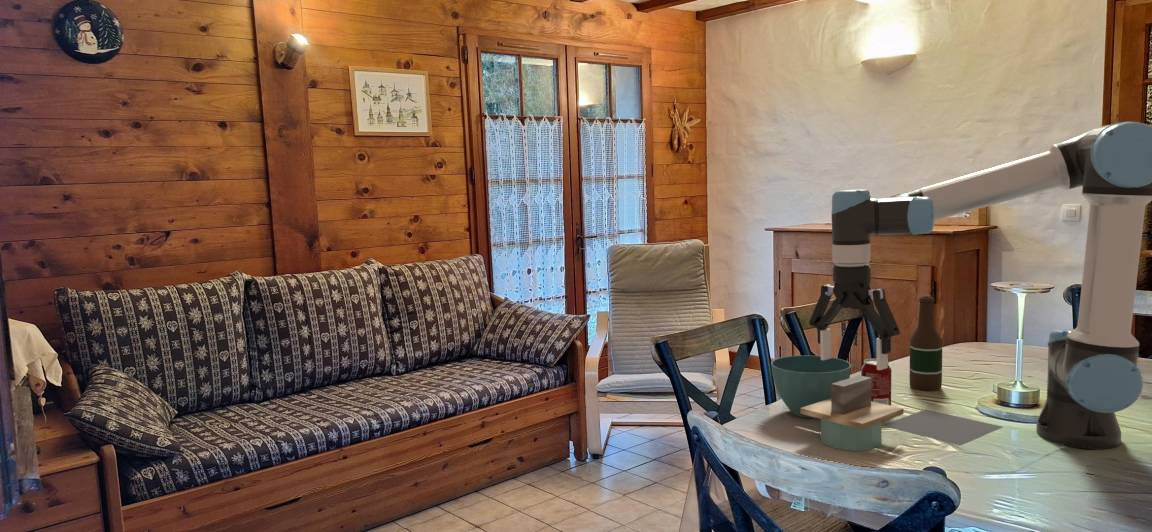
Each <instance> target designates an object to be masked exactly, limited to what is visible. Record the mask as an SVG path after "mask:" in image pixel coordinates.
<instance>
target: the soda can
mask: <svg viewBox="0 0 1152 532" xmlns="http://www.w3.org/2000/svg"><path fill="white" fill-rule="evenodd" d="M860 376H865V377H870V378H871V401H872V402H877V403H881V404H885V405H890V406H892V368H891V367H890V365H889V361H888V368H886V369H883V370H877V358H868V359H864V360H863V364H862V366H861V368H860Z"/></svg>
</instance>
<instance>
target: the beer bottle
mask: <svg viewBox="0 0 1152 532" xmlns="http://www.w3.org/2000/svg"><path fill="white" fill-rule="evenodd" d="M918 302H919V309H918V310H919V311H918V322H917V327H916V328H915V330H913V332H912V334H911V337H910V341H909V387H911V388H912V389H913V390H917V391H924V392H933V391H934V392H935V391H938V390H940V389H941V388H942V384H943V383H942V382H943V340H942V337H941V335H940V332H939V331H938V330H937V328H936V325H935V311H934V310H935V309H934V308H935V307H934V302H935V298H934V297H932V296H920V297H919V299H918Z"/></svg>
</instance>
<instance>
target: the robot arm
mask: <svg viewBox="0 0 1152 532" xmlns="http://www.w3.org/2000/svg"><path fill="white" fill-rule="evenodd" d="M1079 187H1082V189H1081V190H1082V191H1081V196H1083V198H1085V199H1086V201H1088V203H1089V213H1088V223H1087V231H1086V232H1087V233H1086V242H1085V252H1084V259H1083V260H1084V261H1083V271H1082V278H1081V279H1082V280H1081V289H1080V297H1079V298H1080V299H1079V307H1078V308H1079V309H1078V317H1077V325H1076V328H1060V329H1058V328H1057V329H1053V330H1052V331H1050V332H1049V334H1048V335H1049V336H1048V342H1047V348H1048V349H1047V350H1048V351H1047V382H1046V384H1047V385H1046V387H1047V388H1046V399H1045V402H1044V404H1043V406H1042V409H1041V411H1040V413H1039V416H1038V418H1037V421H1036V434H1037V435H1038V436H1039V437H1040V438H1042V439H1045V440H1047V441H1049V442H1052V443H1056V444H1060V445H1063V446H1066V447H1071V448H1079V449H1087V450H1088V449H1089V450H1102V449H1103V450H1105V449H1112V448H1117V447H1118V446H1120V445H1121V443H1122V431H1121V427H1120V425H1119V422H1118V419H1117V416H1116V413H1117V412H1121V411H1123V410H1126V409H1127V408H1130V407H1131V406H1132V405H1133V404H1134V403H1135V402H1136V401H1137V400H1138V399H1139V398H1140V396H1141V394H1142V392H1143V387H1144V381H1143V376H1142V374H1141V370H1140V369H1139V368H1138V360H1139V359H1138V358H1139V352H1140V350H1139V349H1140V342H1139V340H1138V339H1136V337H1135V336H1134V335H1133V334H1132V326H1133V325H1132V324H1133V317H1134V316H1133V315H1134V309H1135V308H1134V306H1135V300H1136V299H1135V298H1136V292H1137V291H1136V289H1137V282H1138V272H1139V264H1140V254H1141V247H1142V239H1143V229H1144V220H1145V211H1146V206H1147V205H1148V204H1150V203H1151V202H1152V126H1151V125H1149V124H1146V123H1143V122H1138V121H1129V120H1128V121H1120V122H1119V121H1117V122H1115V123H1113V124H1105V125H1101V126H1098V127H1096V128H1094V129H1091V130H1089V131H1087V132H1085V133H1082V134H1080V135H1077V136H1075V137H1072V138H1070V139H1068V140H1065V141H1062V142H1059V143H1056V144H1055V143H1054V144H1052V145H1051V146H1050V148H1049V149H1048V150H1047V151H1045V152H1042V153H1039V154H1034V155H1032V156H1031V155H1030V156H1028V157H1025V158H1021V159H1018V160H1017V159H1016V160H1014V161H1011V162H1008V163H1004V164H1000V165H997V166H993V167H991V168H987V169H983V170H979V171H976V172H973V173H969V174H966V175H963V176H959V177H956V178H953V179H949V180H946V181H942V182H938V183H935V184H932V185H928V186H924V187H922V188H918V189H915V190H911V191H909V192H905V193H898V194H893V195H891V196H889V197H887V198H874V197H873V198H871V192H870V191H869V190H868V189H845V190H843V189H841V190H837V191H835V192H834V193H833V194H832V196H831V234H832V235H831V238H832V239H831V240H832V244H831V245H832V246H831V247H832V263H834V265H833V267H832V281H833V283H834V285H832V284H831V283H829V284H824V285H821V287H820V295H819V298H818V301H817V303H816V304H815V307H814V309H813V311H812V315H811V316H810V319H809V322H808V324H809V326H811V327H814V328H816V331H817V343H818V345H819V344H820V356H821V360H827V359H830V358H831V357H832V333H831V332H832V329H831V328H829V325H830V324H831V323H832V322H833V321H834V319H835V318H836V317H837V316H838V314H839V313H840V312H841V310H842V309H852V310H859V311H860V312H861V313H863V315H864V316H865V318H866V319H867V321H868V322H869V323H870V324H871V326H872V328H873V329H874V330H875V332H876V333H877V335H878V336H879V337H877V338H875V340H876V341H875V343H876V346H875V348H876V359H877V370H883V369H886V368H888V365H889V364H888V362H889V361H888V358H889V357H888V354H891V352H892V345H891V342H892V337H896V336H898V335H900V334H901V330H900V329H899V326H898V324H897V321H896V319H895V318H894V314H893V312H892V310H891V308H890V306H889V304H888V301H887V299H886V298H887V297H886V292H885V289H884V288H878V289H871V281H872V267H871V265H870V264H868V263H870V262H871V236H880V235H882V236H883V235H885V236H886V235H890V236H891V235H895V236H896V235H913V236H916V235H922V234H930V233H931V232H932V231H933V230H934V225H935V221H939V220H942V219H946V218H949V217H954V216H957V215H961V214H965V213H968V212H972V211H974V210H978V209H979V210H980V209H983V208H986V207H989V206H994V205H996V204H997V205H998V204H1000V203H1004V202H1008V201H1012V200H1016V199H1020V198H1024V197H1027V196H1030V195H1031V196H1032V195H1033V194H1039V193H1041V192H1045V191H1049V190H1052V189H1056V188H1061V189H1063V190H1065V191H1067V190H1071V189H1074V188H1075V189H1076V188H1079ZM832 296H834V297H835V299H834V300H833V301H832V302H831V300H832ZM870 298H871V300H872V301H873V303H874V304H873V303H872V301H871V300H870ZM830 302H831V304H830ZM829 304H830V305H831V306H830V307H829V308H828V306H829ZM874 307H875V308H874ZM827 308H828V309H827ZM876 310H877V311H876Z"/></svg>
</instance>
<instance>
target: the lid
mask: <svg viewBox="0 0 1152 532" xmlns="http://www.w3.org/2000/svg"><path fill="white" fill-rule="evenodd" d="M904 410H905V409H904V408H902V407H899V406H893V405H891V406H890V405H885V404H881V403H877V402H872V401H871V378H870V377H865V376H861V374H860V375H856V376H853V377H850V378H849V379H846V380H842V381H839V382H836V383H833V384H831V398H830V399H827V400H824V401H821V402H818V403H815V404H812V405H808V406H805V407H802V408H800V414H804V415H808V416H812V417H815V418H814V419H816V418H817V419H820V420H821V419H823V420H827V421H831V422H835V423H839V424H843V425H847V426H850V427H854V428H858V429H862V430H863V429H865V428H868V427H871V426H873V425H876V424H879V423H881V422H882V423H884V422H886V421H888V420H892V419H894V418H897V417H899V416H902V415H904V412H905V411H904Z"/></svg>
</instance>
